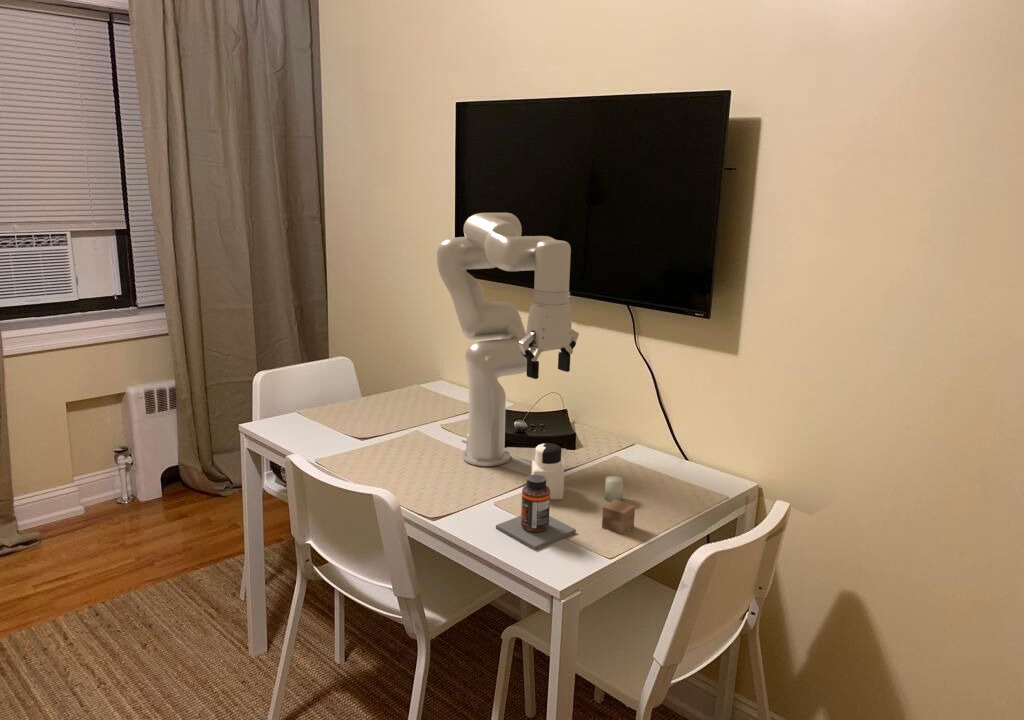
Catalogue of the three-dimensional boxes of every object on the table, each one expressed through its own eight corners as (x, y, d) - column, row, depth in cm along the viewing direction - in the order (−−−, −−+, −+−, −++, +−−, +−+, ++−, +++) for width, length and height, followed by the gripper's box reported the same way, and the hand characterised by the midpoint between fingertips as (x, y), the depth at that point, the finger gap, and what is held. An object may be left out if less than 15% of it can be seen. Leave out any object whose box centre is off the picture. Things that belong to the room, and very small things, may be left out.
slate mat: (495, 528, 161) (495, 525, 161) (536, 512, 169) (536, 509, 168) (534, 550, 152) (534, 546, 152) (575, 532, 160) (575, 529, 160)
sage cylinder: (601, 498, 177) (602, 478, 175) (612, 494, 179) (613, 474, 178) (614, 504, 174) (615, 484, 173) (625, 499, 176) (626, 480, 175)
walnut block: (601, 528, 162) (603, 506, 161) (613, 520, 166) (614, 499, 165) (622, 535, 160) (623, 513, 158) (633, 527, 163) (635, 505, 162)
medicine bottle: (560, 487, 182) (562, 440, 179) (563, 500, 175) (565, 451, 172) (530, 487, 182) (532, 440, 179) (532, 499, 175) (534, 451, 172)
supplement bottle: (516, 523, 162) (517, 474, 159) (542, 519, 164) (543, 470, 161) (527, 535, 156) (528, 485, 154) (553, 531, 159) (555, 481, 156)
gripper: (566, 291, 172) (563, 364, 176) (509, 299, 161) (507, 376, 165) (591, 296, 166) (587, 371, 171) (534, 304, 155) (531, 384, 159)
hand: (548, 374), depth 168 cm, fingers open, 9 cm apart
